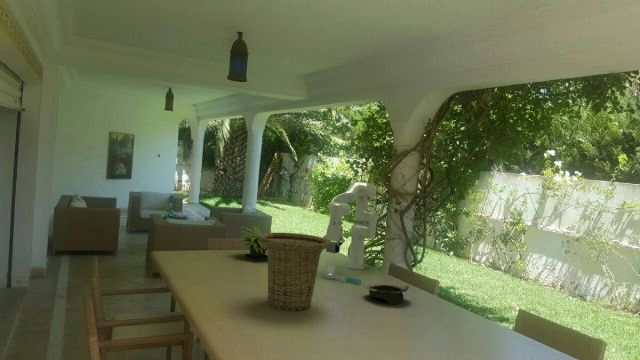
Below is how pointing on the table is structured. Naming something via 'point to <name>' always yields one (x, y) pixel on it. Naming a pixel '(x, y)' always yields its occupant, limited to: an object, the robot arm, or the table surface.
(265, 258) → the fern plant
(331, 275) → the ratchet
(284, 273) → the wicker basket
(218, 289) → the table surface
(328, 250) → the brushed grey cube
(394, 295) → the stone bowl
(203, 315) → the table surface
